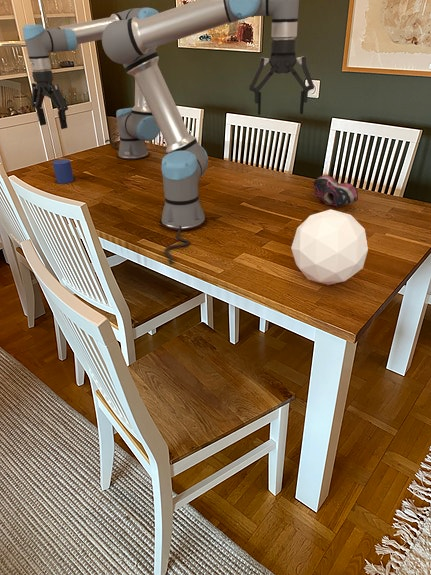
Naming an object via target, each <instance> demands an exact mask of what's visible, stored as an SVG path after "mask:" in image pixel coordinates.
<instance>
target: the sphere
mask: <svg viewBox="0 0 431 575" xmlns="http://www.w3.org/2000/svg"><path fill="white" fill-rule="evenodd" d="M290 250H291V252H292V255H293V259H294V263H295V265H296V267H297V268H298V269H299V270H300V272H301V273H302V274H303V275H304V276H305V277H306V279H307V280H309V281H311V282H315V283H319V284H323V285H327V286H329V285H335V284H339V283H343V282H346V281H348V280H349V279H351V278H352V277H353V276H354V275H356V274H357V273H358V272H360V271H361V270H363V269H364V265H365V262H366V259H367V254H368V251H369V248H368V241H367V233H366V228H364V226H363V225H362V224H361V223H360V222H359V221H357V219H355V217H354V216H353V215H352V214H350V213H347V212H346V213H345V212H342V211H339V210H334V209H331V208H330V209H327V210H324V211H321V212H317V213H313V214H310V215H309V216H307V218H305V220H304V221H303V222H302V223H301V224H300V225H299V226H298V227H297V228H296V230H295V234H294V237H293V241H292V244H291V249H290Z"/></svg>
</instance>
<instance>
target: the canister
mask: <svg viewBox="0 0 431 575" xmlns="http://www.w3.org/2000/svg"><path fill="white" fill-rule="evenodd" d="M51 164H52V167H53V172H54V176H55V180H56V183H57V184H62V185H64V184H70V183H72V182H74V181H75V179H74V173H73V169H72V163H71V160H70V159H68V158H60V159H55V160H53V161H52V163H51Z"/></svg>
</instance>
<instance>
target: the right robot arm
mask: <svg viewBox="0 0 431 575" xmlns="http://www.w3.org/2000/svg"><path fill="white" fill-rule="evenodd" d="M299 4H300V0H193V1H191V2H188V3H185V4H182V5H179V6H176V7H173V8H170V9H167V10H164V11H161V12H159V13H158V14H155V15H152V16H149V17H146V18H143V19H141V20H139V19H138V18H136V17H133V18H130V19H127V20H117V21H113V22H111V23H110V24H109V25H107V27H106V28H105V30H104V32H103V35H102V40H101V44H102V46H101V47H102V50H104V53H105V55H106V56H107V58H109V59H110V60H111V61H112V62H114V63H116V64H119V65H122V66H123V68H124V70H125V72H126V74H128V75H130V76H132V77H133V78H134V81H135V80H136V82H137V84H138V86H139V88H140V90H141V92H142V94H143V96H144V98H145V100H146V102H147V104H148V106H149V108H150V111H151V113H152V115H153V117H154V119H155V121H156V123H157V125H158V127H159V129H160V133H161V135H162V138H163V140H164V141H165V144H166V149H165V155H164V156H163V157H162V159H161V173H162V174H161V176H162V184H163V194H164V204H163V209H162V213H161V219H160V220H161V225H162V227H163V228H165V229H167V230H170V231H175V232H176V231H177V233H176V239H177V240H179V241H181V242H185V243H181V244H172V245H168V246H167V247H166V248H165V249H164V252H165V254H166V255H167V257H168V259H169V260H168V261H169V265H173V259H172V255H171V254H170V252H169V250H170V249H172V248H181V247H186V246H188V245H189V244H190V241H189V240H188V239H185V238H182V237H180V234H181V232H185V231H186V232H187V231H192V230H195V229H198V228H201V227H202V226H203V225H204V224H205V223H206V216H205V212H204V210H203V208H202V204H201V202H200V196H199V181H200V180H201V178H202V176H203V175H205V173H206V171H207V169H208V164H209V156H208V153H207V151H206V149H204V147H203V146H202V145H200V144H199V142H198V140H197V138H196V137H195V136H194V135H192V134H190V132H189V131H188V128H187V126H186V124H185V122H184V120H183V117H182V115H181V113H180V111H179V109H178V106H177V104H176V102H175V99H174V98H173V96H172V93H171V91H170V89H169V87H168V85H167V82H166V80H165V78H164V76H163V74H162V72H161V70H160V67H159V65H158V62H159V60H160V56H159V53H158V51H157V48H158V47H159V46H163V45H166V44H169V43H172V42H175V41H178V40H181V39H185V38H188V37H191V36H193V35H197V34H199V33H203V32H206V31H209V30H212V29H216V28H218V27H222V26H225V25H228V24H231V23H235V22H238V21H241V20H246V19H248V18H251V17H270V16H271V31H270V32H271V33H270V34H271V35H270V36H271V38H272V39H271V41H270V55H269V58H267V57H264V56H261V57H260V58H259V65H258V68H257V70H256V71H255V73H254V75H253V78H252V80H251V82H250V85H249V86H248V89H249V91H250V92H253V93H254V104H257V115H258V116H261V111H262V110H261V108H262V107H261V106H262V92H261V90H262V89H263V87H264V86H265V85H266V84H267V82H268V81H269V79H270V78H271V77H272V76H273V75H274V74H275V73H276V74H289V73H291V74H292V75H293V77H294V79H295V80H296V81H297V83H298V84H299V85H300V87H301V88H302V89H303V90H301V91H300V100H299V102H300V103H299V113H300V115H304V107H305V106H304V105H305V103H307V102H308V97H309V92H310V91H312V90H314V89H315V85H314V82H313V79H312V77H311V74H310V72H309V69H308V66H307V57H305V56H304V55H301V56H299V57H297V54H296V52H297V39H296V38H297V35H298V24H299V23H298V19H299ZM157 46H158V47H157ZM155 47H157V48H156V49H155ZM268 63H269V65H270V69H268V71H267V73H266V74H265V75H264V77H263V78H262V79H261V80H260V82H259V83H258V84H257V82H258V80H259V78H260V76H261V74H262V71H263V70H264V67H265V66H266V65H267V64H268ZM297 63H298V64H299V65H300V66H301V69H302V72H303V74H304V76H305V79H306V81H307V84H308V85H306V84H305V82H304V81H303V79H302V78H301V77H300V75H299V73H297V71H296V70H295V68H294V67H295V65H296V64H297ZM256 84H257V86H256Z"/></svg>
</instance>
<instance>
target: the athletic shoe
mask: <svg viewBox="0 0 431 575" xmlns="http://www.w3.org/2000/svg"><path fill="white" fill-rule="evenodd" d="M312 186H313V190H314V191H315V193H311V195H312V196H314V197H318V199H319V200H320V202H321V203H322V202H323V203H324V204H325V205H326V206H331V207H336V208H340V207H342V206H343V207H344V206H346V205H350V204H352V203H354V202H357V201H358V200H359V193H358V190H357V188H356V187H355V186H354V185H353V184H352V183H349V182H342V183H339V181H338V180H337V179H336V178H335V177H333V176H331V175H329V174H327V175H326V174H324V175H320V176H319V177H317V178H316V179H315V180H314V182H313V185H312Z"/></svg>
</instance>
